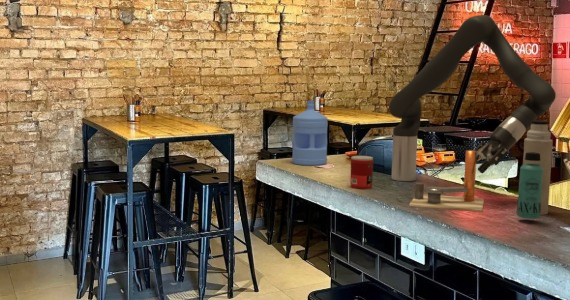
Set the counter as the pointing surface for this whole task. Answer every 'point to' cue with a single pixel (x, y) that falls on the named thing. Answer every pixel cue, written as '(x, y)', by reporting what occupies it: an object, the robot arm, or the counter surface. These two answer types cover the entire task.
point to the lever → (468, 179)
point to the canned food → (361, 172)
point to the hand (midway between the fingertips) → (473, 169)
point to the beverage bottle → (530, 188)
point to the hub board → (444, 201)
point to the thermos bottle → (541, 144)
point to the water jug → (310, 137)
